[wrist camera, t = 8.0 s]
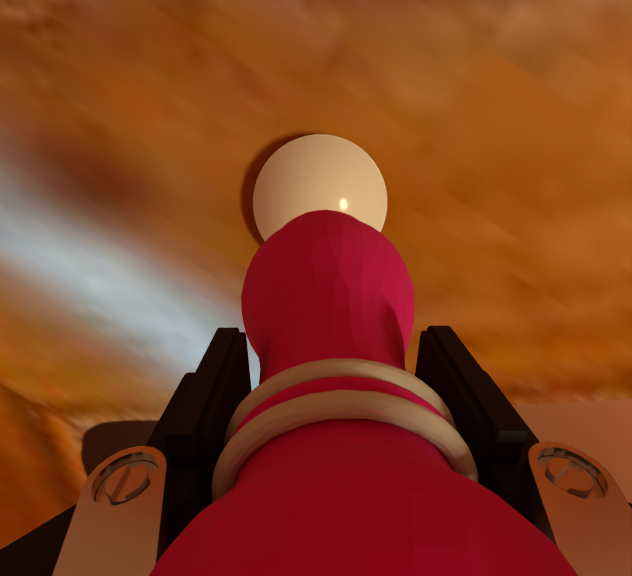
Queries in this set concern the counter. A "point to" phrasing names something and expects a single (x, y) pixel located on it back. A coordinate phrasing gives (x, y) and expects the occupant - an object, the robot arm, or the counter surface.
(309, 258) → the pepper mill
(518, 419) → the robot arm
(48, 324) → the counter surface
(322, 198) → the disc
